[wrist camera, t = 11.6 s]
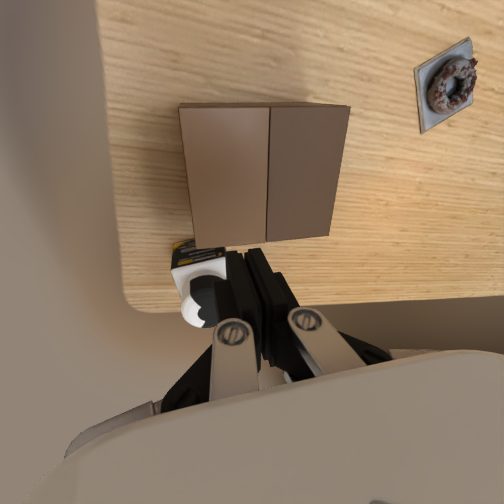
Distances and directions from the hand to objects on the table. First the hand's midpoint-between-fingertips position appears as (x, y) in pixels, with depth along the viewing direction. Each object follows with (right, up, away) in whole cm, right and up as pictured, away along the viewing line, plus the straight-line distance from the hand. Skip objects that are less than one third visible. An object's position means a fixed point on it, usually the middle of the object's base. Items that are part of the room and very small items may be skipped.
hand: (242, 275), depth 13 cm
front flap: (-2, +7, +12) cm, 15 cm away
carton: (0, +13, +21) cm, 25 cm away
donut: (+25, +23, +22) cm, 40 cm away
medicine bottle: (-7, 0, +27) cm, 28 cm away
